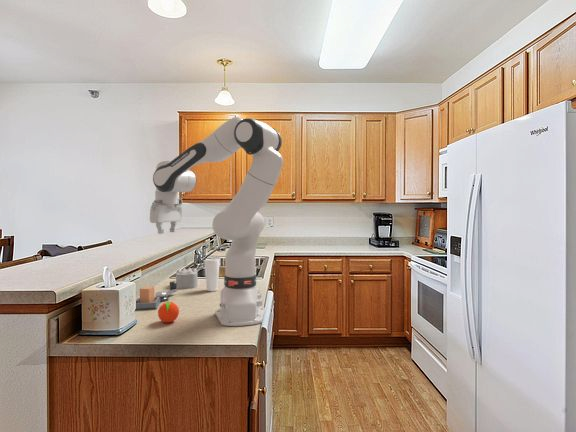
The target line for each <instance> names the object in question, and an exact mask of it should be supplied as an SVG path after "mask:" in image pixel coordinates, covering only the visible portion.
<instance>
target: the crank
mask: <svg viewBox="0 0 576 432" xmlns="http://www.w3.org/2000/svg"><path fill="white" fill-rule="evenodd" d="M176 292H178V289H177V282H176V280H174V281H169V288H168V289H167V290H163V291H157V292H155V297H160V298H164V297H166V296H170V295H171V294H175V293H176Z"/></svg>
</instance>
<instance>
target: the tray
mask: <svg viewBox="0 0 576 432" xmlns="http://www.w3.org/2000/svg"><path fill="white" fill-rule="evenodd" d="M154 297H155V301H154V302H148V303H140V297H137V298H135V300H136V310H135V311H143V310H144V311H146V310H149V311H150V310H157V308H158V307H160V304H161V302H160V297H156V296H154Z"/></svg>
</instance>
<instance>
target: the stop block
mask: <svg viewBox="0 0 576 432" xmlns="http://www.w3.org/2000/svg"><path fill="white" fill-rule="evenodd" d="M155 297H156V296H155V286H143V287H141V288H139V298H140V303H148V302H154V301H155Z"/></svg>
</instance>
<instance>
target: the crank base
mask: <svg viewBox="0 0 576 432" xmlns="http://www.w3.org/2000/svg"><path fill="white" fill-rule="evenodd" d="M165 302H169V295H167V296H166V297H164V298H160V303H165Z"/></svg>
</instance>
